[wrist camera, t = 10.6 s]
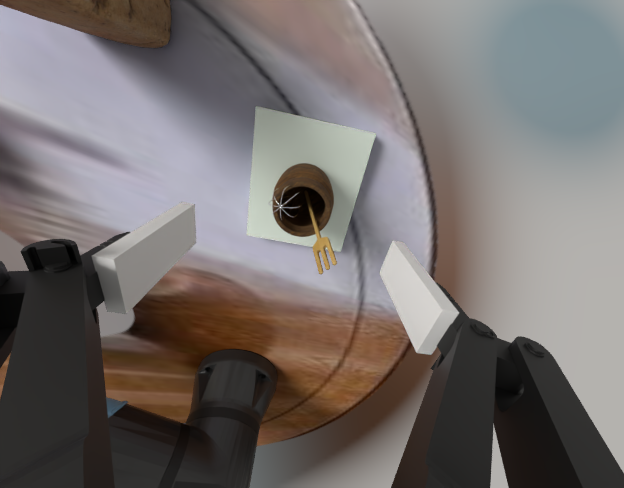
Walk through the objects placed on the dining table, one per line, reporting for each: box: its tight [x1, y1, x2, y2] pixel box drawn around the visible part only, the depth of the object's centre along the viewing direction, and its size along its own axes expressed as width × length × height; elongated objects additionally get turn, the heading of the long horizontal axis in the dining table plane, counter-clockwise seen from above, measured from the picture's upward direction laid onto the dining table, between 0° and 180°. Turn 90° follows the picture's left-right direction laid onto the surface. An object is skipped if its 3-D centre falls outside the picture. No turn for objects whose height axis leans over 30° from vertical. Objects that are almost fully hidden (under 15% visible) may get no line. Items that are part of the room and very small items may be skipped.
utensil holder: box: [268, 163, 337, 274], centre depth 20 cm, size 6×6×12 cm
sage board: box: [247, 106, 376, 252], centre depth 26 cm, size 14×12×2 cm
